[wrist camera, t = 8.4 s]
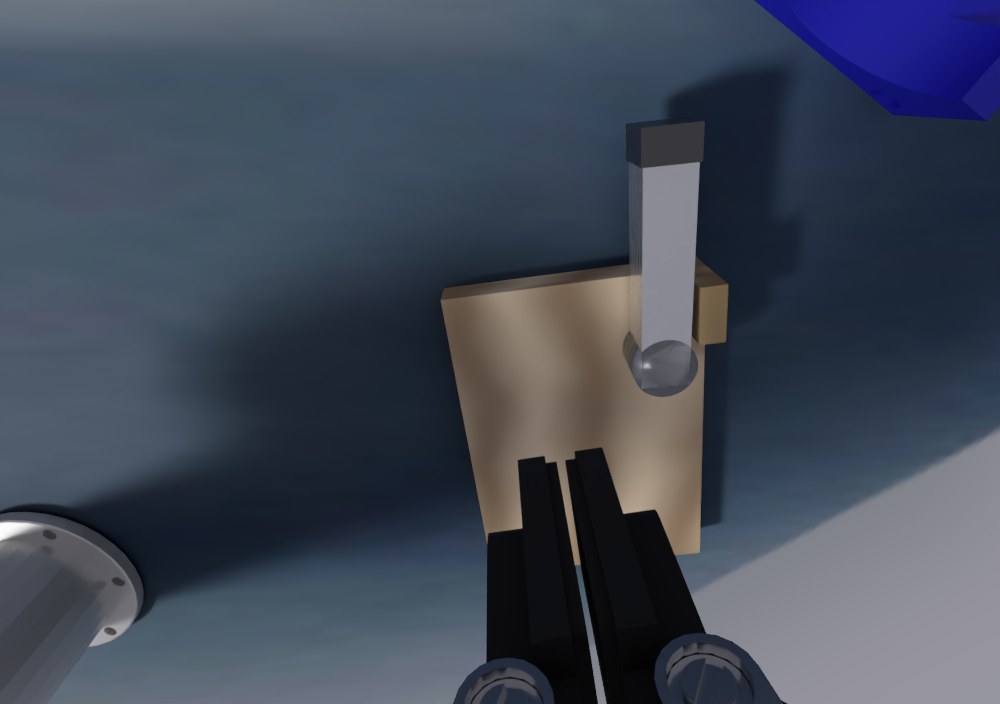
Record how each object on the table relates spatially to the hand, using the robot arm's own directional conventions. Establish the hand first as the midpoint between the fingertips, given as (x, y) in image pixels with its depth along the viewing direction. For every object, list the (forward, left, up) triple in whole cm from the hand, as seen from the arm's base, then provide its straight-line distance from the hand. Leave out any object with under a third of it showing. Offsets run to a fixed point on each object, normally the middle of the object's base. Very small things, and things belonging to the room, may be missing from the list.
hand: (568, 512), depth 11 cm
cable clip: (+16, +10, -22) cm, 28 cm away
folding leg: (+6, -1, -19) cm, 20 cm away
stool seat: (+2, -12, -21) cm, 25 cm away
